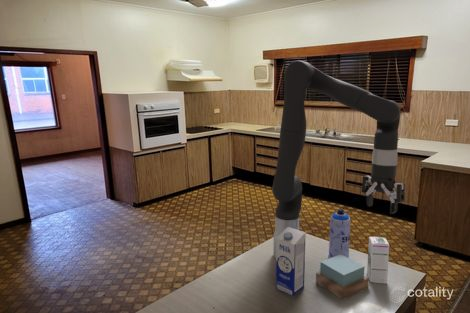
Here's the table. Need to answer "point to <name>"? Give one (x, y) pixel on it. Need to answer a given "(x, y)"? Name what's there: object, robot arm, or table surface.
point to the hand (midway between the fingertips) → (380, 209)
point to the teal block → (342, 270)
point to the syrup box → (378, 260)
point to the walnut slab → (340, 290)
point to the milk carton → (290, 261)
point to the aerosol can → (339, 234)
